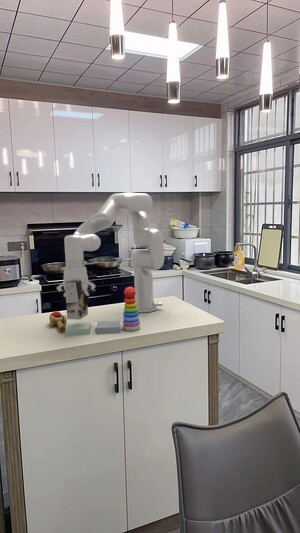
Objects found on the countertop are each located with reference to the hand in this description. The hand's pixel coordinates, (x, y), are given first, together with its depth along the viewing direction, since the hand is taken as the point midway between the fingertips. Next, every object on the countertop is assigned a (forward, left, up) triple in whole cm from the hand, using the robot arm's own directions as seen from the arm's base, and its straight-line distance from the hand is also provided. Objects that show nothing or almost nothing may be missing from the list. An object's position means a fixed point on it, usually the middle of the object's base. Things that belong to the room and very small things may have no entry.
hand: (77, 304), depth 162 cm
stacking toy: (-23, 0, -12) cm, 26 cm away
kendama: (+10, -8, -12) cm, 18 cm away
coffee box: (0, 0, -6) cm, 6 cm away
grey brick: (-13, 0, -12) cm, 18 cm away
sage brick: (0, 0, -12) cm, 12 cm away
